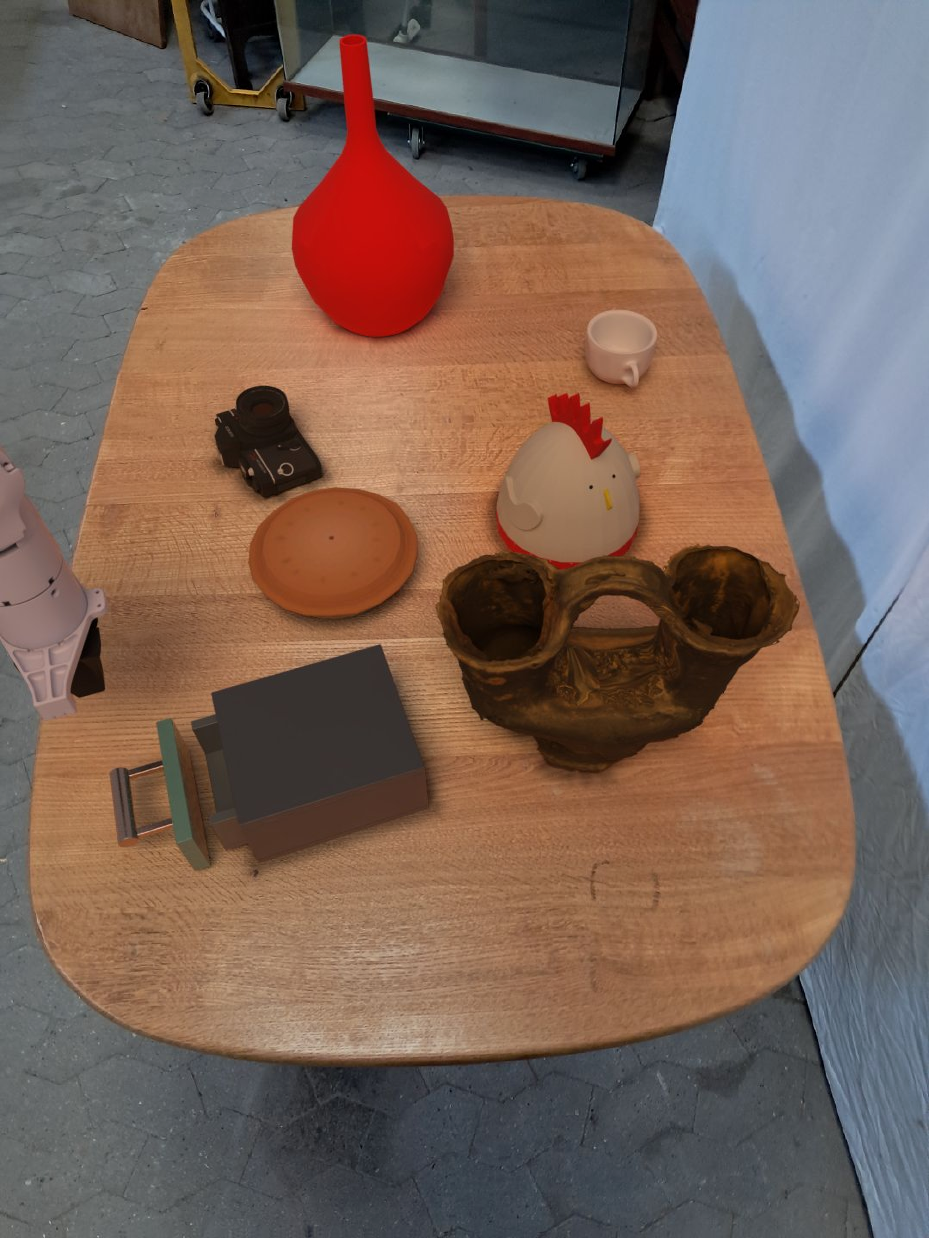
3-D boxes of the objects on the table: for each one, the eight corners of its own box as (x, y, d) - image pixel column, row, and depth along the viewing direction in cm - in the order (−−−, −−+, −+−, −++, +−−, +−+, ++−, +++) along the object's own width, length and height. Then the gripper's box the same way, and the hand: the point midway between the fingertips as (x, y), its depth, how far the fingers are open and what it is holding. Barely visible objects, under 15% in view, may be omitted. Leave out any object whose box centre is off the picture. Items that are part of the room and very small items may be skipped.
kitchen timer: (548, 595, 84) (560, 479, 72) (469, 504, 91) (468, 384, 79) (666, 535, 88) (695, 415, 76) (582, 452, 95) (597, 331, 83)
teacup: (574, 354, 105) (578, 314, 100) (638, 346, 106) (644, 305, 101) (598, 411, 99) (603, 371, 95) (665, 401, 100) (674, 361, 95)
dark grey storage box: (258, 864, 69) (238, 825, 63) (230, 737, 75) (210, 692, 70) (428, 809, 71) (424, 767, 66) (387, 690, 78) (380, 643, 72)
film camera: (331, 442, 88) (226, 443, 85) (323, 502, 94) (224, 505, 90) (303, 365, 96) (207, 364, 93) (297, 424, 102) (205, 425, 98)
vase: (315, 268, 116) (273, 1, 92) (458, 270, 115) (453, 2, 91) (293, 359, 105) (238, 83, 81) (451, 361, 104) (443, 85, 80)
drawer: (136, 890, 67) (113, 863, 63) (120, 770, 73) (98, 738, 68) (356, 819, 70) (348, 789, 66) (324, 710, 76) (315, 675, 72)
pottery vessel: (726, 661, 79) (789, 504, 63) (754, 774, 73) (832, 630, 57) (441, 671, 79) (432, 515, 63) (443, 784, 73) (433, 643, 57)
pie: (232, 548, 88) (220, 512, 84) (378, 492, 92) (373, 456, 88) (291, 665, 80) (281, 632, 76) (448, 598, 84) (446, 563, 80)
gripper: (91, 643, 53) (157, 753, 64) (72, 477, 61) (133, 599, 72) (-35, 676, 52) (55, 783, 63) (-37, 502, 60) (42, 623, 71)
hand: (90, 687), depth 67 cm, fingers closed
